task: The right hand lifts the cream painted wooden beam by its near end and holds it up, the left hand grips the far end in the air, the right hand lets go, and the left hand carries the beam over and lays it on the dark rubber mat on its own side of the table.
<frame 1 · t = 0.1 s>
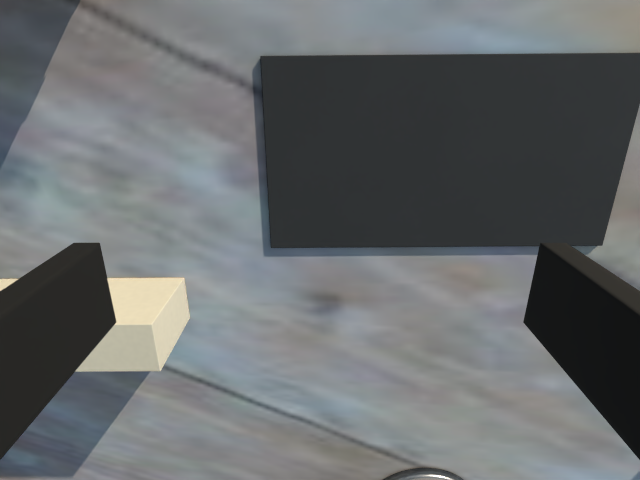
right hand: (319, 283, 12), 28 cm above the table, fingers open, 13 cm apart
cream beam: (68, 298, 44), on the table
dark rubber mat: (444, 158, 39), on the table
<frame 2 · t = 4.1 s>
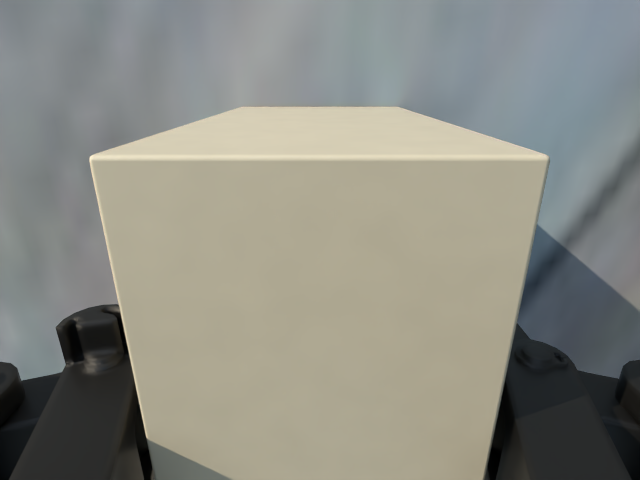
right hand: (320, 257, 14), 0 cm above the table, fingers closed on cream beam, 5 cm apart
cream beam: (319, 424, 17), on the table, touching right hand
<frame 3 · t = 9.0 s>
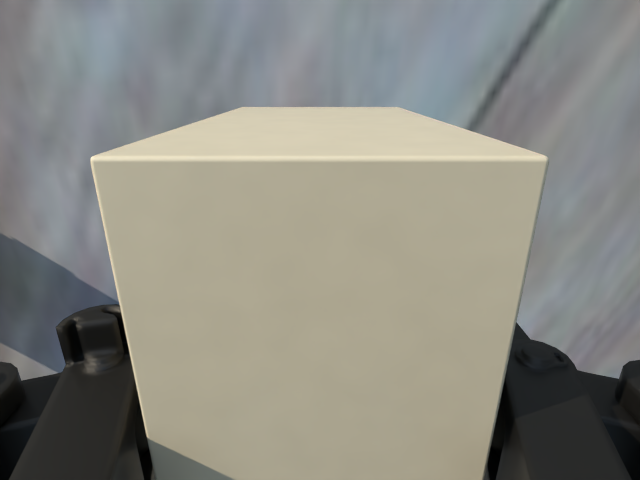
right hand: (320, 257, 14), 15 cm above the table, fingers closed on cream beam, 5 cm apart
cream beam: (319, 424, 17), point 14 cm above the table, touching right hand, left hand
when the right hand's fingers open (15 cm above the table, at t = 9.8 s): cream beam stays where it is, held by the left hand.
when the left hand's fingers open (4 cm above the table, at t = 19.6 s): cream beam drops 1 cm, resting on dark rubber mat.
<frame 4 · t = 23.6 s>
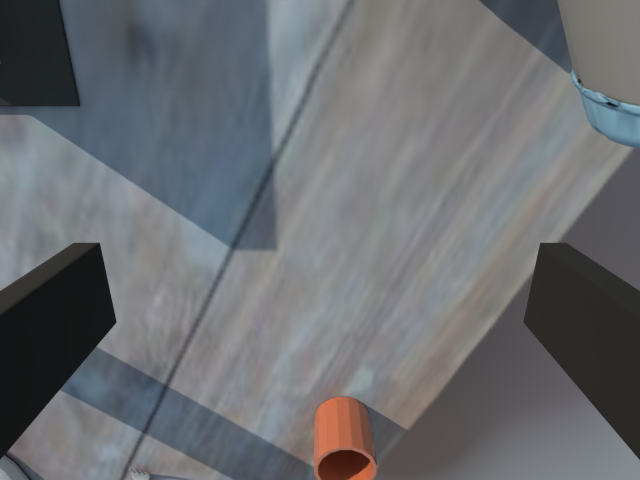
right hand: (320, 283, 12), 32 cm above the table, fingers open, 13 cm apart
terracotta pot: (342, 418, 55), on the table
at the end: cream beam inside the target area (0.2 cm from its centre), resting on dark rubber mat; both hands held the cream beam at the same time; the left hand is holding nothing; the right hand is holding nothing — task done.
